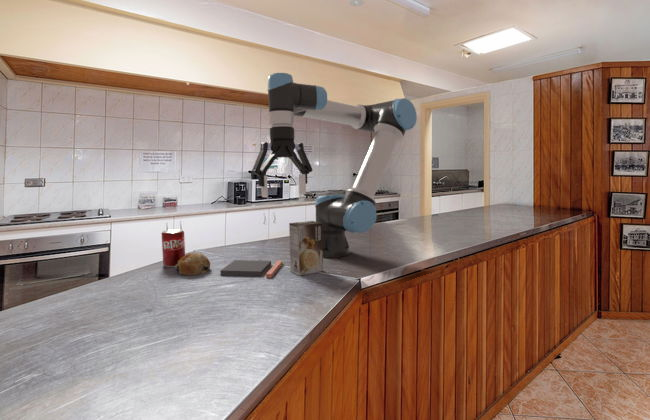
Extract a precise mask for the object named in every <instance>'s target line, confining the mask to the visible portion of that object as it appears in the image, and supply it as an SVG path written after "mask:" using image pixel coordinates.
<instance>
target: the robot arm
mask: <svg viewBox="0 0 650 420" xmlns="http://www.w3.org/2000/svg"><path fill="white" fill-rule="evenodd" d="M267 95H268V96H267V97H268V116H269V117H268V119H269V120H268V121H269V126H271V127H270V128H269V141H270V142H268V141H265V142H261V143H260V150H259V153H258V155H257V158H256V160H255V162H254V165H253V167H252V170H251V173H252V174H254V175H256V176H257V177H258V179H257V180H258V186H259V187H261V188H260V189H261V197H262V198H269V193H268V192H269V191H268V175H265V174H266V173H267V172H268V170H269V169H270V168H271V166H272V164H273V163H274V161H276V159H277V158H288V159H289V160H290V161H291V162H292V163H293V164H294V165H295V167H296V168H297V170H298V171H299V172H300V173H299V174H298V187H299V188H298V189H299V190H298V191H299V195H304V196H305V195H307V192H306V191H307V189H306V184H308V175H309V173H310V172H313V167H312V165H311V163H310V160H309V159H308V156H307V154H306V152H305V148H304V143H303V142H298V143H295V128H294V125H295V116H296V117H301V118H308V119H314V120H319V121H325V122H329V123H336V124H340V125H346V126H351V127H352V128H353V130H354V129H355V130H360V131H364V132H370V133H375V134H374V136H373V138H372V142H371V143H370V146H369V148H368V149H367V153H366V155H365V157H364V160H363V161H362V164H361V166H360V169H359V171H358V173H357V175H356V178H355V181H354V182H353V185H352V187H351V188H348V189H346V191H345V193H344V194H330V195H329V194H327V195H320V196H317V197H316V198H315V204H314V205H315V206H314V207H315V222H320V223H323V224H322V225H323V258H340V257H345V256H348V255H350V254H351V253H350V245H349V242H348V239H347V235H346V232H349V233H353V234H363V233H366V232H368V231H369V230H371V229H372V227H374V225H375V223H376V220H377V216H378V215H377V208H376V206H375V205H376V200H375V195H376V192H377V191H378V190H377V189H378V187H379V186H380V183H381V181H382V178H383V175H384V174H385V171H386V169H387V166H388V164H389V162H390V158H391V157H392V154H393V152H394V149H395V148H396V144H397V142H399V141H402V140H403V138H404V137H405V133H406V132H407V131H410V130H411V129H414V127H416V126H415V125H416V124H417V116H418V115H417V111H416V107H415V106H414V104H413V102H411V101H410V99H407V98H404V97H403V98H395V99H393V100H389V101H388V100H387V101H385V102H379V103H374V104H367V105H366V104H364V105H363V104H357V105H351V104H347V103H344V102H343V103H341V102H337V101H332V100H329V99H328V92H327V90H326V89H325V88H324V87H323V86H318V85H316V84H314V85H313V84H304V83H297V82H294V80H293V75H292V74H290V73H287V72H274V73H271V74H270V75H269V76H268V79H267ZM269 149H270V151H271V152H270V153H269V154H268V157H267V159H266V160H265V158H266V156H267V153H268V150H269ZM294 150H296V152H297V154H296V152H295V151H294Z"/></svg>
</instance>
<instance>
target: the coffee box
mask: <svg viewBox="0 0 650 420" xmlns="http://www.w3.org/2000/svg"><path fill="white" fill-rule="evenodd" d="M322 224H323V223H320V222H316V220H315V221H314V220H310V221H309V220H307V221H298V222H289V225H288V226H289V230H288V231H289V261H290V262H289V265H290V268H289V269H290V272H292V273H294V274H295V275H298V276H304V275H309V274H314V273H319V272H324V257H323V225H322Z"/></svg>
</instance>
